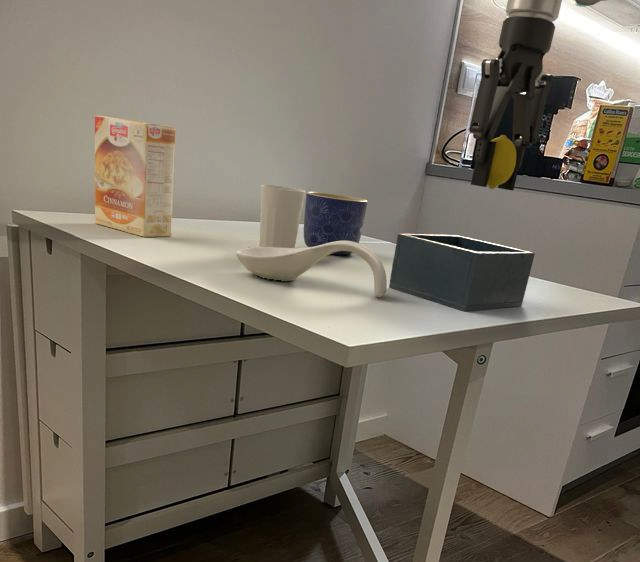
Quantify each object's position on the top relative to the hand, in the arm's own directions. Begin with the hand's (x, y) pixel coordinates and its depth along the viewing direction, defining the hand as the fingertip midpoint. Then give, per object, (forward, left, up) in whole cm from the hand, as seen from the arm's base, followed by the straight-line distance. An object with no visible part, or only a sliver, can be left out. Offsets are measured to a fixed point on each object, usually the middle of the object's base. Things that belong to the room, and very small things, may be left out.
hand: (492, 187), depth 105 cm
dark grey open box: (-1, +4, -17) cm, 18 cm away
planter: (+37, +3, -17) cm, 41 cm away
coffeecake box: (+53, +39, -17) cm, 68 cm away
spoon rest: (+8, +27, -17) cm, 33 cm away
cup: (+30, +20, -17) cm, 40 cm away
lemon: (0, 0, -1) cm, 1 cm away
